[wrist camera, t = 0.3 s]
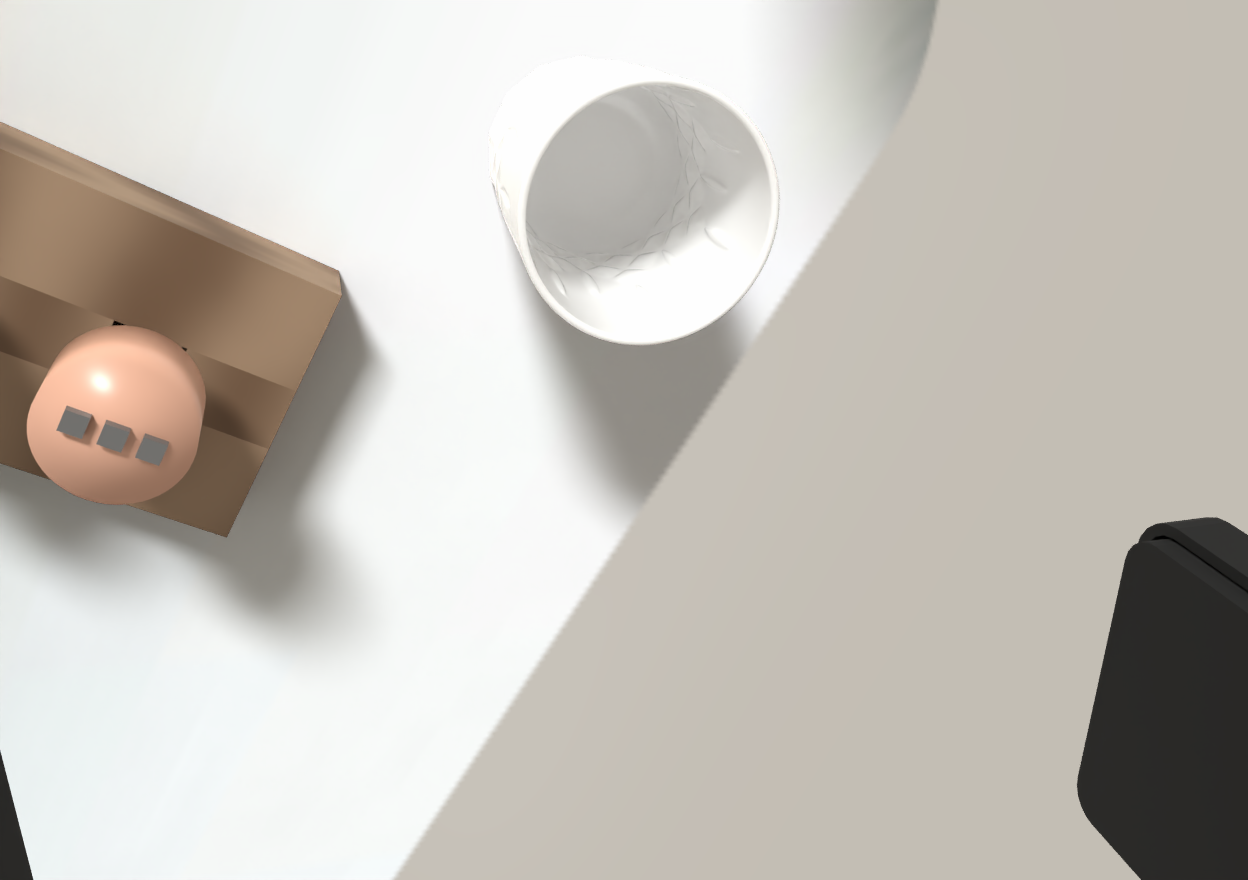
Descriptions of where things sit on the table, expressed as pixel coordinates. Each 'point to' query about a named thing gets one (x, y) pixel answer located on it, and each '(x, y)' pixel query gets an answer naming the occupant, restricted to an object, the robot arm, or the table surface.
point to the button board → (153, 310)
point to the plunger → (118, 415)
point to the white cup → (633, 197)
